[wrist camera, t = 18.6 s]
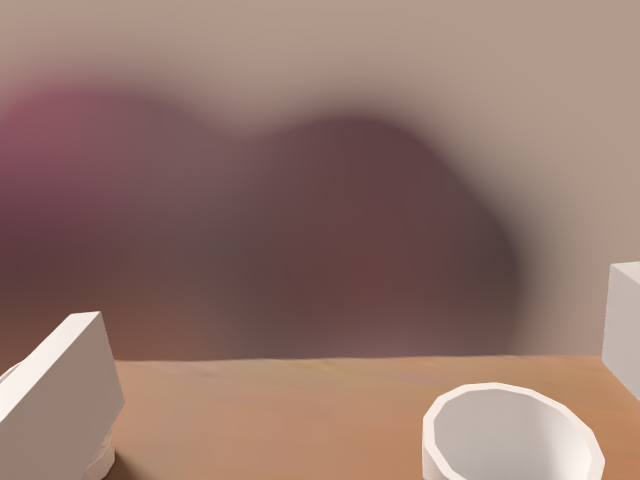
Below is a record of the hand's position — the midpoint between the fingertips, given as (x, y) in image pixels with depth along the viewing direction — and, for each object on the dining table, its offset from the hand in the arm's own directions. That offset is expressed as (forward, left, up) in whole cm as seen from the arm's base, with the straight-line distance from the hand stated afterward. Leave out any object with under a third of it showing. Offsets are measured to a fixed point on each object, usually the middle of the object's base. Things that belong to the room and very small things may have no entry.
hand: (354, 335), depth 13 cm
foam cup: (+14, +2, -28) cm, 31 cm away
